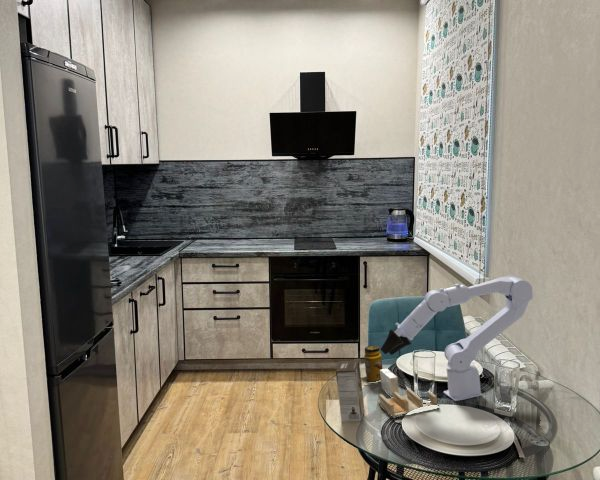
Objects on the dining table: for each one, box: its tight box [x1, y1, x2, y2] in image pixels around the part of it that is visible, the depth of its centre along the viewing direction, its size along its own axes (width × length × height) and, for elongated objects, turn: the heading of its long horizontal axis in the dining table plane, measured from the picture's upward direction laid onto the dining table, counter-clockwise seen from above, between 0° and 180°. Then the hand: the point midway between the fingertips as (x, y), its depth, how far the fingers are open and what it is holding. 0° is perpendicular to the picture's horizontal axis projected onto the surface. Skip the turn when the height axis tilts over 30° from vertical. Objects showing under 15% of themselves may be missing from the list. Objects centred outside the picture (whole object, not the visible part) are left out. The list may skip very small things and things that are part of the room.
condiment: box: [361, 345, 383, 386], centre depth 198 cm, size 7×8×12 cm
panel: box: [380, 368, 400, 397], centre depth 185 cm, size 2×9×7 cm, turn 13°
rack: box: [377, 388, 438, 416], centre depth 174 cm, size 15×12×4 cm
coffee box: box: [335, 359, 365, 423], centre depth 171 cm, size 9×6×16 cm
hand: (386, 352), depth 177 cm, fingers open, 7 cm apart
